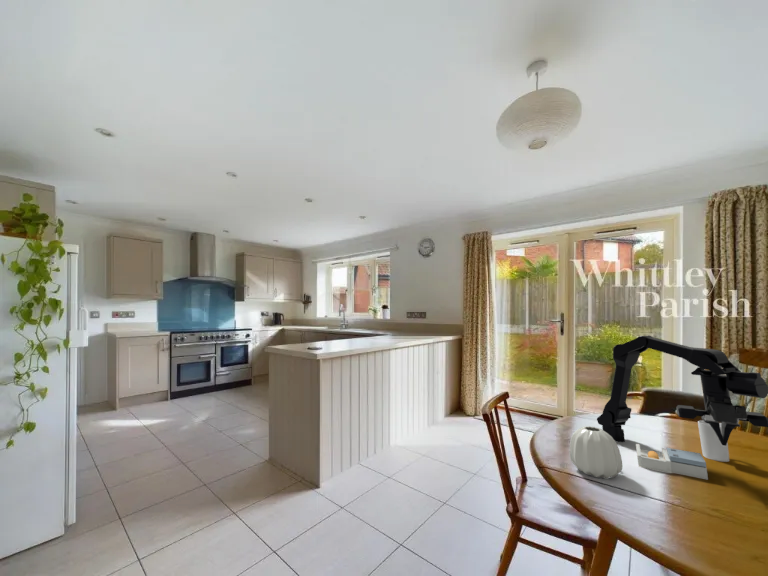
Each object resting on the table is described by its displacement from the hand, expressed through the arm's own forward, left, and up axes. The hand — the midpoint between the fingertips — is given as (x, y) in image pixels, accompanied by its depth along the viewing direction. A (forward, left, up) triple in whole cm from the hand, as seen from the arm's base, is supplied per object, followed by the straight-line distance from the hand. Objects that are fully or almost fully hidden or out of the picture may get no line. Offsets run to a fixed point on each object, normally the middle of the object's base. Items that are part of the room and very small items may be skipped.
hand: (723, 445), depth 93 cm
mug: (+1, +20, -11) cm, 23 cm away
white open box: (-13, +4, -10) cm, 17 cm away
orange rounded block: (-17, +1, -10) cm, 19 cm away
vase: (-32, -15, -11) cm, 37 cm away
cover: (-9, 0, -6) cm, 11 cm away
